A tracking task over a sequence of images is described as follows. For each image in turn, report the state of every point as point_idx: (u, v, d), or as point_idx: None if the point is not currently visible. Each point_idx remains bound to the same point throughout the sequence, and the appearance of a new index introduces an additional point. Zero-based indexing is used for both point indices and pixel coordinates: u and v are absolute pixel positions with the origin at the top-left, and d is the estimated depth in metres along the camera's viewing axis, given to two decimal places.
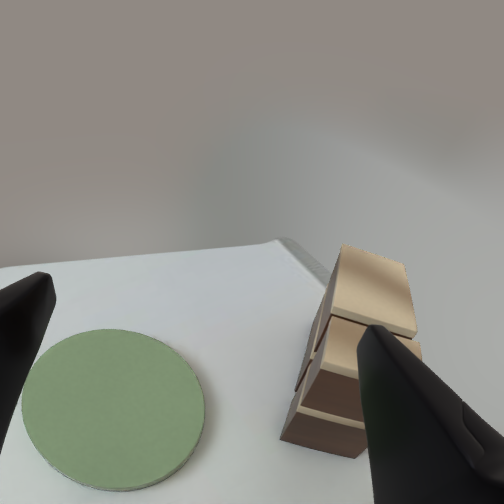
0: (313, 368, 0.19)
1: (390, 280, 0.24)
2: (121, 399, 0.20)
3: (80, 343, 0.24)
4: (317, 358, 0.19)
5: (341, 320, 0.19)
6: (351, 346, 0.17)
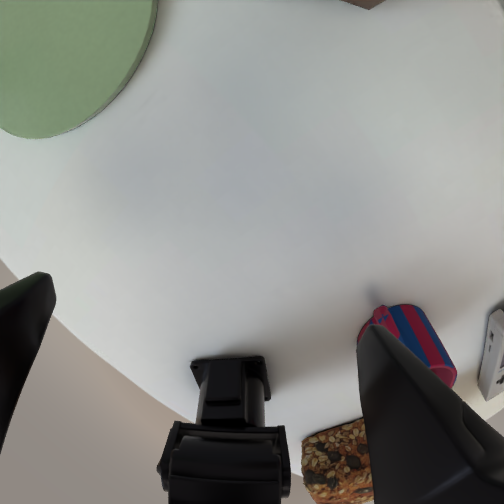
0: None
1: None
2: (57, 20, 0.12)
3: None
4: None
5: None
6: None
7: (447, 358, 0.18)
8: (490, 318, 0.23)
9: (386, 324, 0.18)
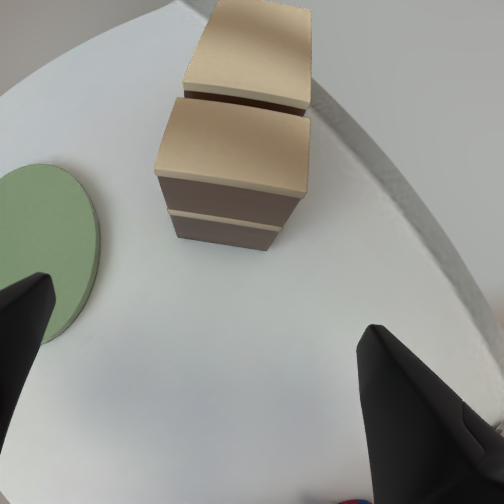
0: None
1: (282, 32, 0.16)
2: (25, 246, 0.19)
3: None
4: None
5: (188, 101, 0.13)
6: (195, 137, 0.13)
7: None
8: None
9: None
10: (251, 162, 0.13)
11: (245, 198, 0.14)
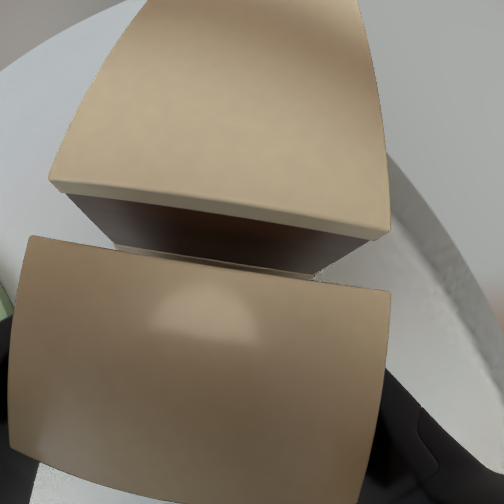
0: None
1: (305, 21, 0.07)
2: None
3: None
4: None
5: (53, 250, 0.04)
6: (74, 386, 0.04)
7: None
8: None
9: None
10: (226, 462, 0.04)
11: None
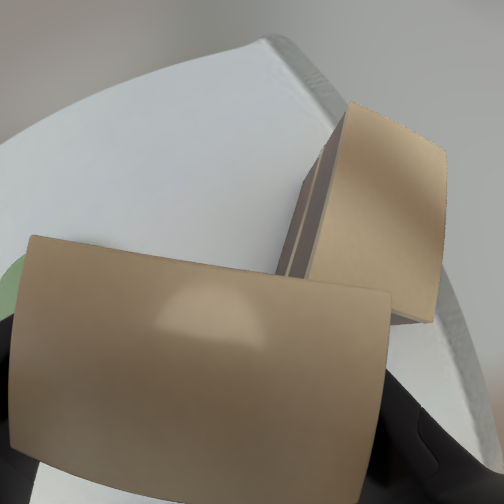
0: None
1: (419, 195, 0.14)
2: None
3: (16, 278, 0.19)
4: None
5: (54, 249, 0.04)
6: (75, 385, 0.04)
7: None
8: None
9: None
10: (226, 462, 0.04)
11: None
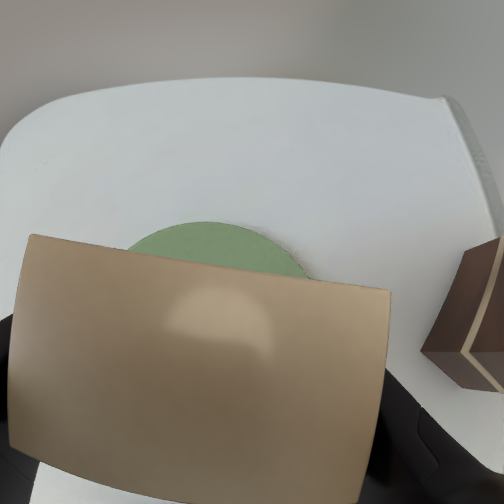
0: None
1: None
2: None
3: (169, 247, 0.19)
4: None
5: (53, 248, 0.04)
6: (74, 384, 0.04)
7: None
8: None
9: None
10: (226, 461, 0.04)
11: None
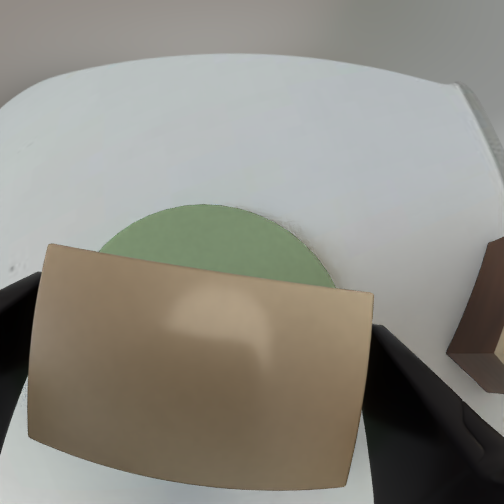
0: None
1: None
2: None
3: (162, 233, 0.16)
4: None
5: (71, 257, 0.05)
6: (91, 378, 0.05)
7: None
8: None
9: None
10: (226, 445, 0.05)
11: None
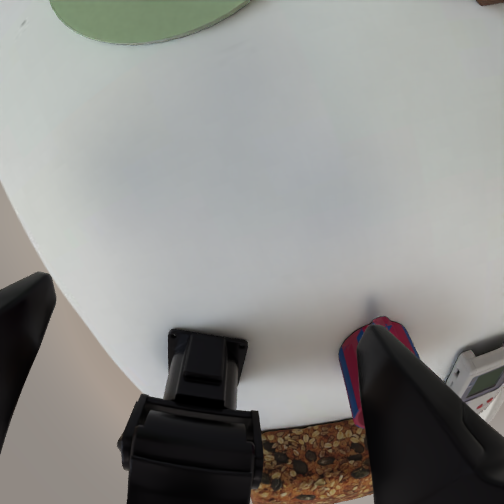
0: None
1: None
2: None
3: None
4: None
5: None
6: None
7: None
8: (460, 356, 0.26)
9: None
10: None
11: None
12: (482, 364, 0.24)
